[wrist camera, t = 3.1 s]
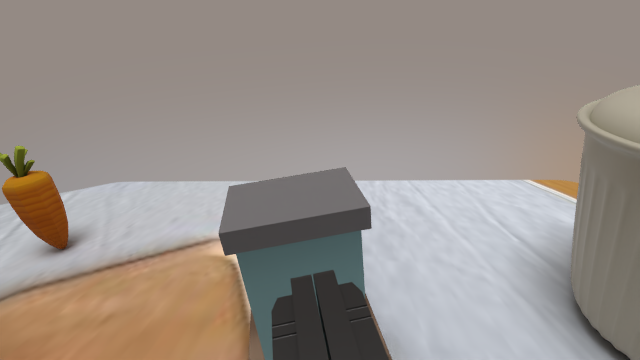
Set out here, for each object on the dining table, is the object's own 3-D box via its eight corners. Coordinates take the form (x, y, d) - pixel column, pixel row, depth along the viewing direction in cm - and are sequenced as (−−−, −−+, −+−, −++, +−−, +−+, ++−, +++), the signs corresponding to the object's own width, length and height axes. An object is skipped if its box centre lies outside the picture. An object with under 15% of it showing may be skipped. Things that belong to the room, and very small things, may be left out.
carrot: (35, 254, 44) (-26, 152, 37) (75, 234, 47) (25, 139, 41) (50, 264, 41) (-14, 156, 35) (91, 243, 45) (40, 142, 38)
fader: (378, 387, 20) (370, 206, 14) (270, 413, 19) (218, 233, 14) (357, 324, 24) (345, 167, 19) (269, 344, 24) (228, 186, 18)
